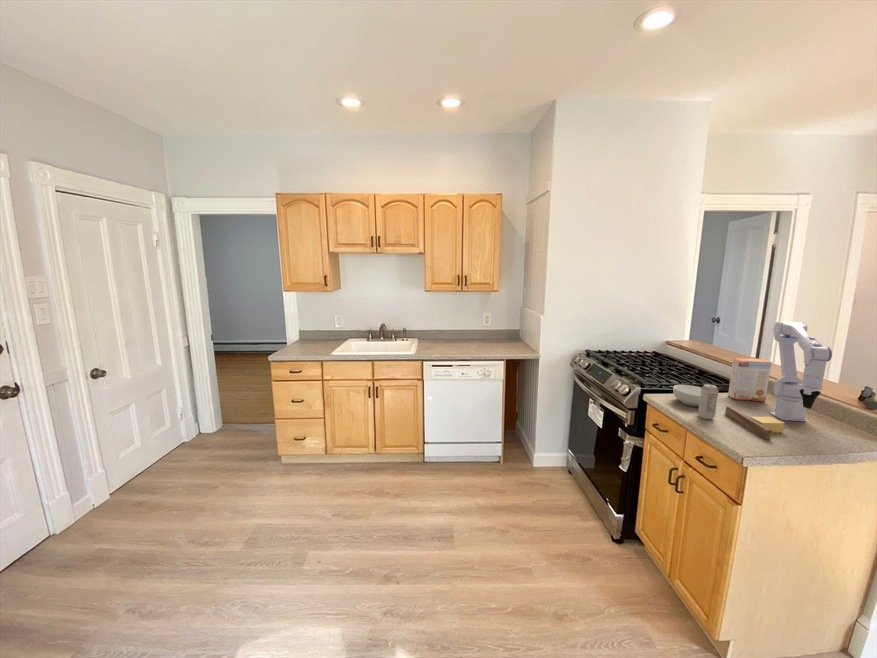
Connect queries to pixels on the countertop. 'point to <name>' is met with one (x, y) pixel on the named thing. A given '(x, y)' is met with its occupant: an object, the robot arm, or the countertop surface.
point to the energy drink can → (708, 401)
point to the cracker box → (749, 379)
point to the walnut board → (748, 422)
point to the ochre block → (770, 423)
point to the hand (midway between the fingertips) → (807, 407)
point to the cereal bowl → (687, 394)
